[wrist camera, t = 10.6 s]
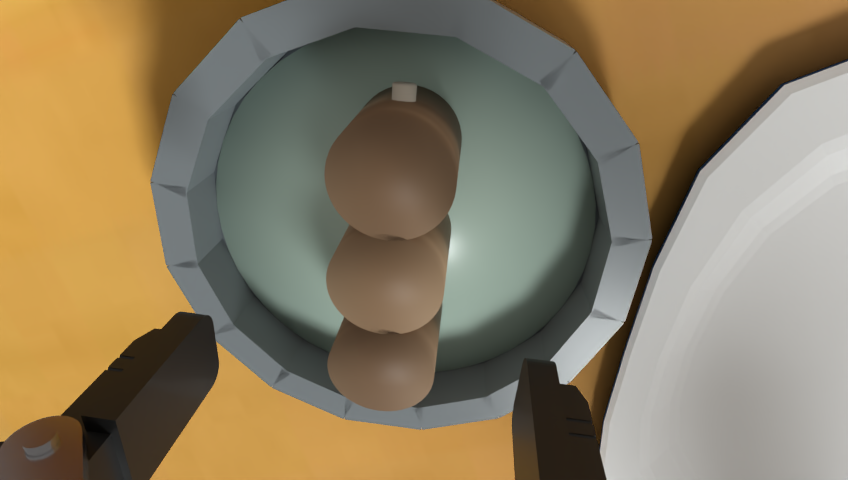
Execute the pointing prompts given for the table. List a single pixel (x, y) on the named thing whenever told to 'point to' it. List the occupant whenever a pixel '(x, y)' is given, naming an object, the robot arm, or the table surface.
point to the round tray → (469, 214)
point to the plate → (747, 309)
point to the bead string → (391, 244)
